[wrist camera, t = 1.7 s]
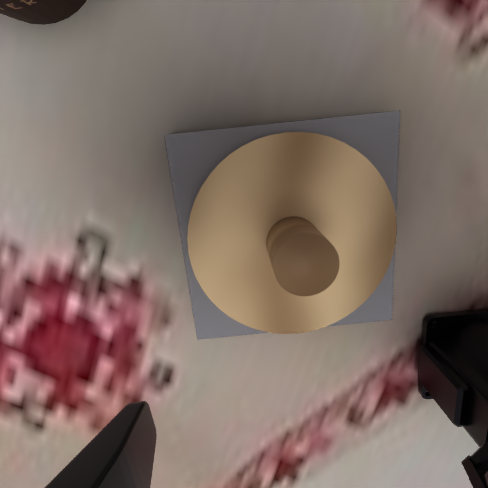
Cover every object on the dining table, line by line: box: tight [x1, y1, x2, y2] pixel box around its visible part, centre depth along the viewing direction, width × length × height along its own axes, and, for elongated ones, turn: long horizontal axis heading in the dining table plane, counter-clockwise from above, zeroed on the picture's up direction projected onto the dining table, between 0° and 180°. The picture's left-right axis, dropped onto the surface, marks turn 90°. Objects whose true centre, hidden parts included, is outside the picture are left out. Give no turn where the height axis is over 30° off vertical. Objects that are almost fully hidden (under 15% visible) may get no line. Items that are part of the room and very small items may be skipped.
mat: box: [164, 110, 400, 340], centre depth 19 cm, size 12×12×2 cm
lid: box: [187, 132, 397, 334], centre depth 16 cm, size 11×11×5 cm
